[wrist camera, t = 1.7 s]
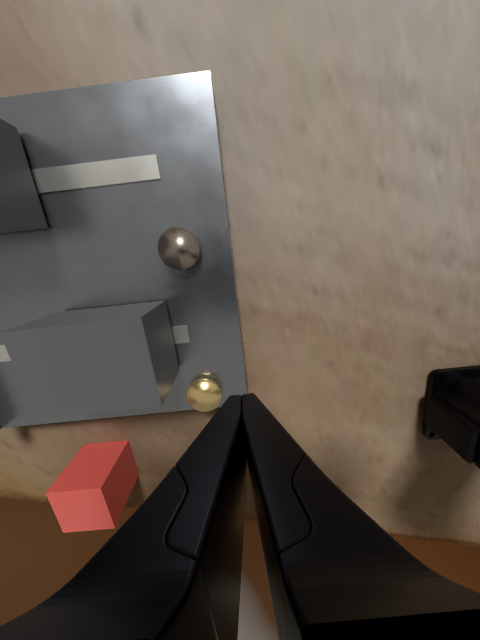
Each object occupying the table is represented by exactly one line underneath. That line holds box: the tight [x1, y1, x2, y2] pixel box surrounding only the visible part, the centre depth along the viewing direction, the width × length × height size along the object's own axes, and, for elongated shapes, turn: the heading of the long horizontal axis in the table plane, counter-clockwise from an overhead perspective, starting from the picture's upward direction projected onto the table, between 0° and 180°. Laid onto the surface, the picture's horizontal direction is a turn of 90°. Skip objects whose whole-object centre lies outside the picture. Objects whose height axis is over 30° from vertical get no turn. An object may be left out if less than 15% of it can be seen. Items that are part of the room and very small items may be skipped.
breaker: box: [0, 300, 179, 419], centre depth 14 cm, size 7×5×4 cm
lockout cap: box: [46, 440, 138, 533], centre depth 20 cm, size 4×4×4 cm
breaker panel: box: [0, 70, 248, 429], centre depth 16 cm, size 20×20×4 cm
